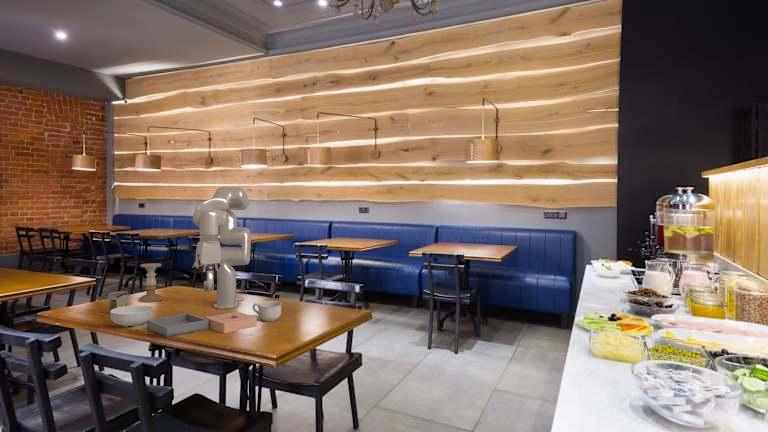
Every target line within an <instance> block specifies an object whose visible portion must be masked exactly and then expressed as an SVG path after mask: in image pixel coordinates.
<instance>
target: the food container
mask: <svg viewBox="0 0 768 432" xmlns="http://www.w3.org/2000/svg"><path fill="white" fill-rule="evenodd" d="M128 296H129V292H128V290H125V291H124V290H123V291H121V290H120V291H114V292H111V293H108V295H107V300H108V302H109V312H110V311H111V310H112V309H115V308H118V307H124V306H128Z"/></svg>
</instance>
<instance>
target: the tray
mask: <svg viewBox="0 0 768 432" xmlns="http://www.w3.org/2000/svg"><path fill="white" fill-rule="evenodd" d="M146 323H147V324H146V325H147V327H146V329H147V331H150V332H151V333H154V334H157V335H159V336H161V337H164V338H166V339H169V338H173V337H176V336H177V335H178V336H182V334H183V335H186V334H192V333H196V332H200V331H204V330H208V329H209V328H208V320H207V319H205V317H201V316H198V315H195V314H191V313H188V312H186V313H182V314H176V315H169V316H164V317H158V318H154V319H149V320H147V321H146ZM178 336H177V337H178Z"/></svg>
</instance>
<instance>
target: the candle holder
mask: <svg viewBox="0 0 768 432" xmlns="http://www.w3.org/2000/svg"><path fill="white" fill-rule="evenodd" d="M140 267H141V268H145V270H146V272H147V273H146V274H145V276H146V281H145V285H146V286H145V287H144V289H145V291H146V293H145V294H143V295H141V297H138V302H139V301H141V302H140V303H155V302H154V301H156V302H160V300H161V301H163V300H162V299H164V296H162V295H160V294H158V293H156V290H157V286H156V285H157V281H156V276H157V273H155V271H156V269H157V268H159V267H162V264H161V263H157V262H156V263H155V262H152V263H150V262H149V263H142V264H140Z"/></svg>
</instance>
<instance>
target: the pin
mask: <svg viewBox="0 0 768 432" xmlns="http://www.w3.org/2000/svg"><path fill="white" fill-rule="evenodd" d="M205 272H207V280H206V281H203V291H204V292H213V291H215V290H214V288H215V287H214V286H215V284H214V283H215V281H214V265H211V264H209V265H206V271H205Z"/></svg>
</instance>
